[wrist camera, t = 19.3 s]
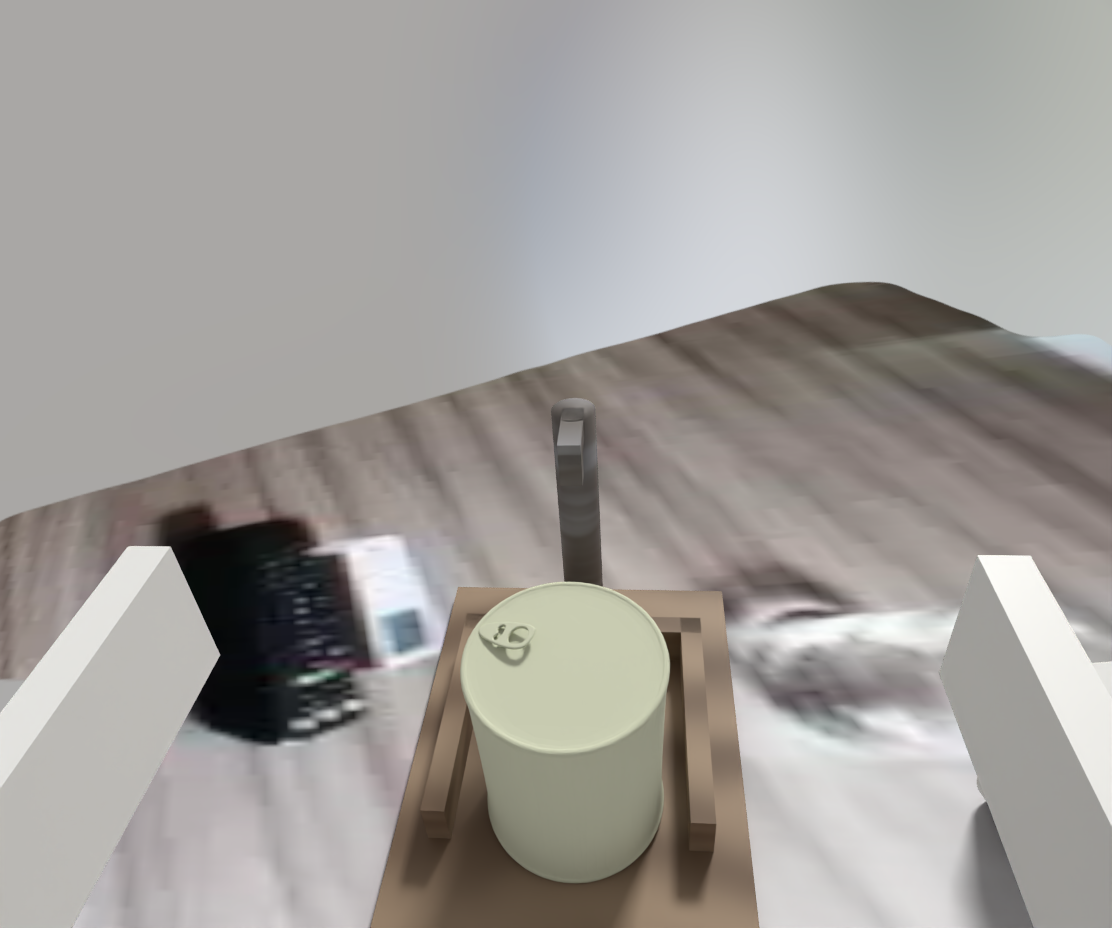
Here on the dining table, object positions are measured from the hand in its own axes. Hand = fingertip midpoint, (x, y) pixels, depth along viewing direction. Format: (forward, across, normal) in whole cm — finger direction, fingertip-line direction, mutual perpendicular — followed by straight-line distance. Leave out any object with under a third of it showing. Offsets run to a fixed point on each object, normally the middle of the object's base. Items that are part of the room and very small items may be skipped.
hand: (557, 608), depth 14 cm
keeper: (+18, -2, -30) cm, 35 cm away
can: (+14, -2, -29) cm, 33 cm away
